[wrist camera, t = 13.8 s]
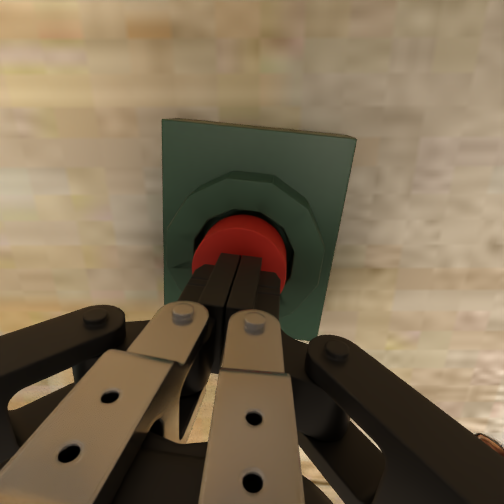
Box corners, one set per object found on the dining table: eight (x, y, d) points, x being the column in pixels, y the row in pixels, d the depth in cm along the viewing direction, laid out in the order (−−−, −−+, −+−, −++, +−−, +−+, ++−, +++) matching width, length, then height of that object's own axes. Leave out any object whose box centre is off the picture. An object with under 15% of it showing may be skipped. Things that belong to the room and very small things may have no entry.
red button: (203, 209, 14) (192, 222, 12) (291, 219, 14) (292, 234, 12) (200, 287, 15) (190, 307, 14) (280, 297, 15) (280, 319, 13)
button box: (177, 117, 16) (143, 119, 12) (348, 135, 15) (367, 142, 12) (176, 300, 20) (151, 343, 16) (313, 318, 19) (319, 366, 16)
